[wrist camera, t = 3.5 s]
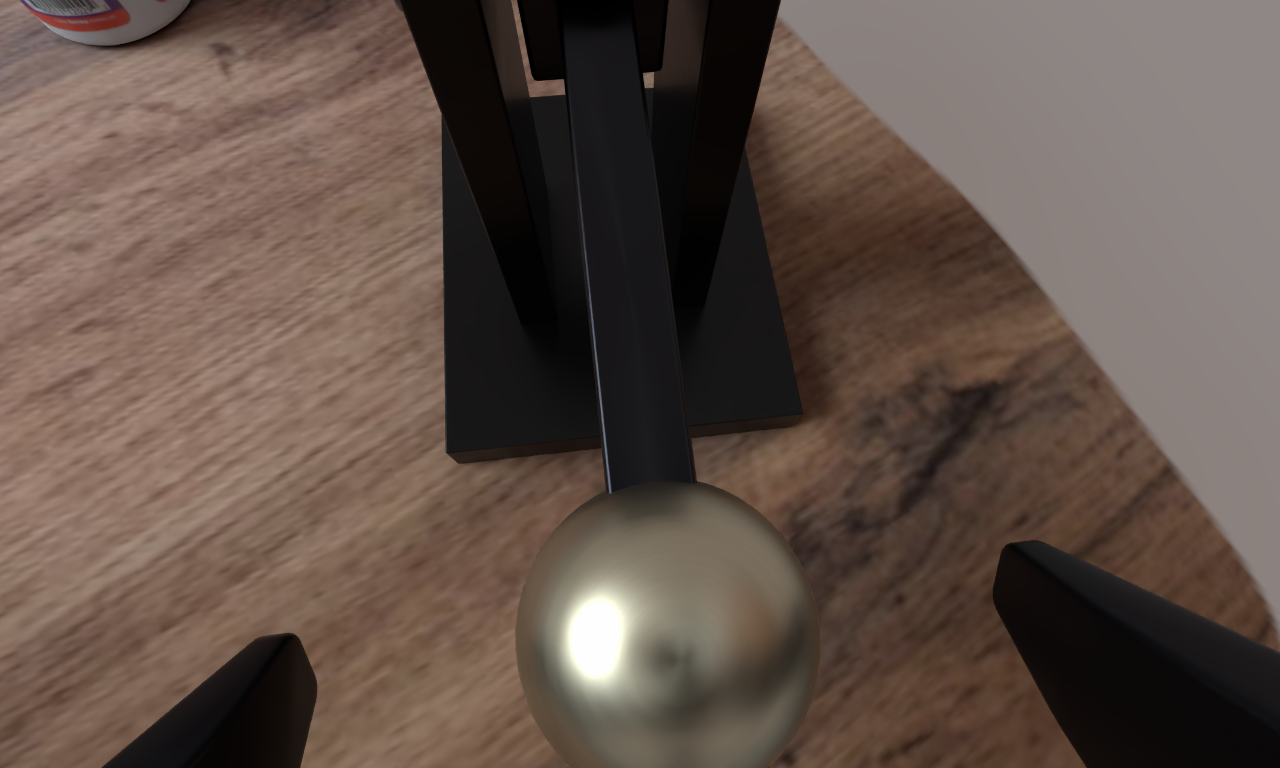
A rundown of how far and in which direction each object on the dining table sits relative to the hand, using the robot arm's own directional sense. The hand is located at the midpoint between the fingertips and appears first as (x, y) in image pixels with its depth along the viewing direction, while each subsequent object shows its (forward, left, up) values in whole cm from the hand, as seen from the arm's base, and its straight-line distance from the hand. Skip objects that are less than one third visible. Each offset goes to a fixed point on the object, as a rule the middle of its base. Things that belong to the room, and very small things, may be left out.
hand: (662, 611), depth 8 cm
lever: (+4, -2, -1) cm, 5 cm away
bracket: (+9, -4, -8) cm, 12 cm away
